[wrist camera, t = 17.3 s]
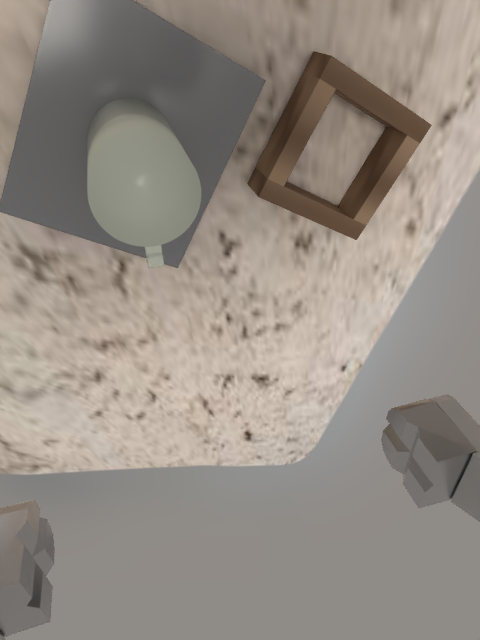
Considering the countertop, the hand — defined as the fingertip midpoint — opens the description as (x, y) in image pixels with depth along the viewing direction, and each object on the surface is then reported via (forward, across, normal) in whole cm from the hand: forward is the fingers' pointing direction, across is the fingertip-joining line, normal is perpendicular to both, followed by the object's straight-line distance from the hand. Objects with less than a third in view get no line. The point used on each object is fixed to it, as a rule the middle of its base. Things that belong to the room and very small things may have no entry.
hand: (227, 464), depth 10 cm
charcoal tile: (+28, 0, 0) cm, 29 cm away
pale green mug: (+27, 0, +1) cm, 27 cm away
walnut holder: (+28, -16, +2) cm, 33 cm away
